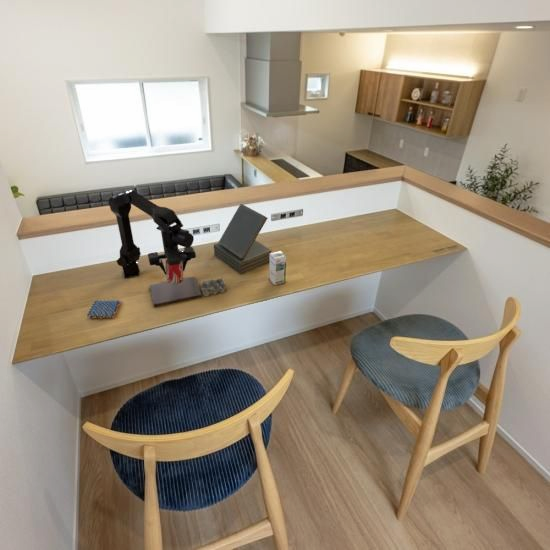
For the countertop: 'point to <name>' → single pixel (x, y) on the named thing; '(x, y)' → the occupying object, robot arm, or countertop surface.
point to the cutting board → (174, 292)
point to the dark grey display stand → (243, 241)
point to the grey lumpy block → (212, 286)
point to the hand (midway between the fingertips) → (174, 272)
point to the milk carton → (277, 267)
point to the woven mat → (104, 309)
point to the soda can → (174, 273)
